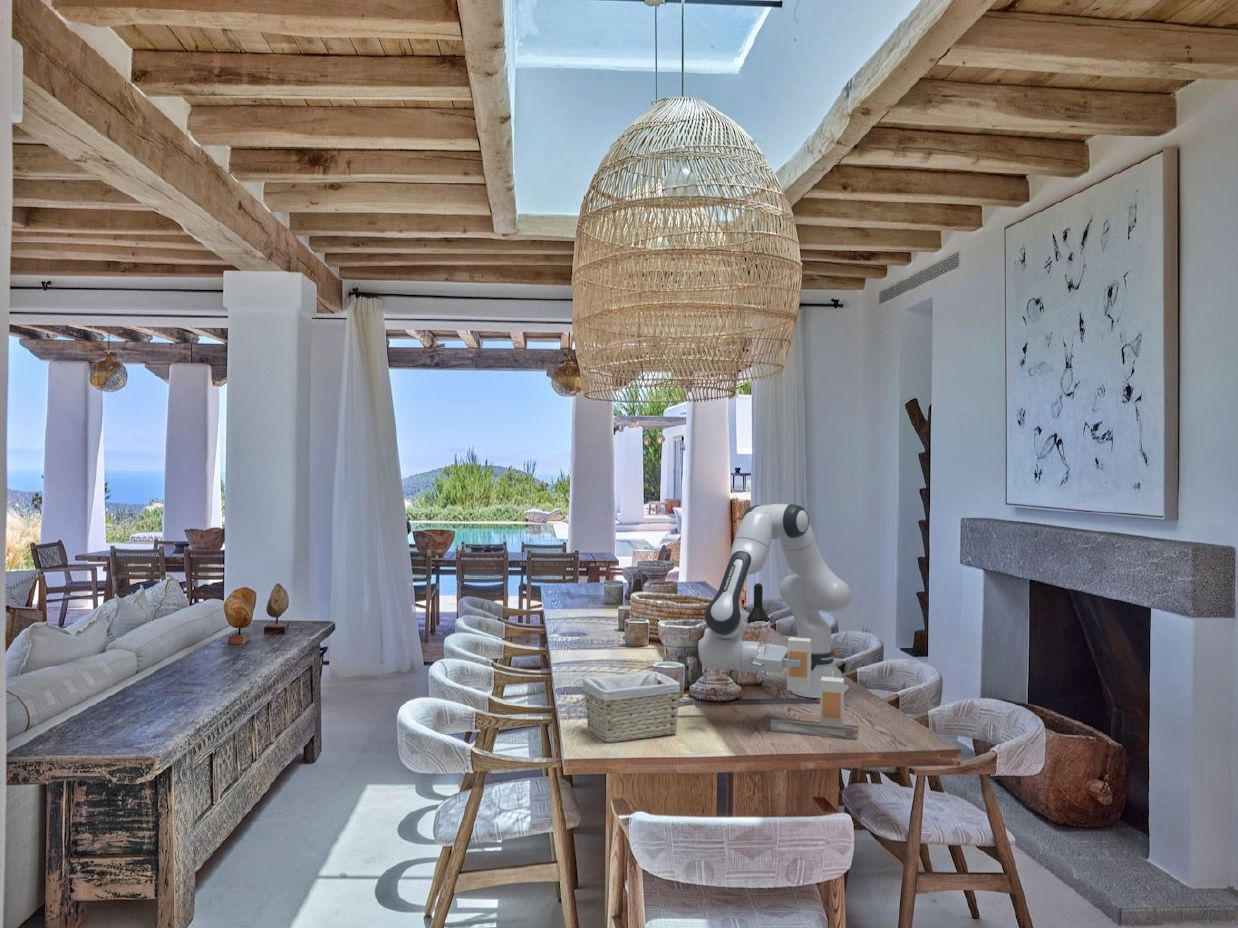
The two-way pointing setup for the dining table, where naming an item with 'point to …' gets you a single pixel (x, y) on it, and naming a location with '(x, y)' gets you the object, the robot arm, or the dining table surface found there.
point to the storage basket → (631, 706)
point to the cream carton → (800, 675)
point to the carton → (832, 701)
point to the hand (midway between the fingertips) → (802, 660)
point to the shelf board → (813, 728)
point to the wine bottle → (758, 606)
